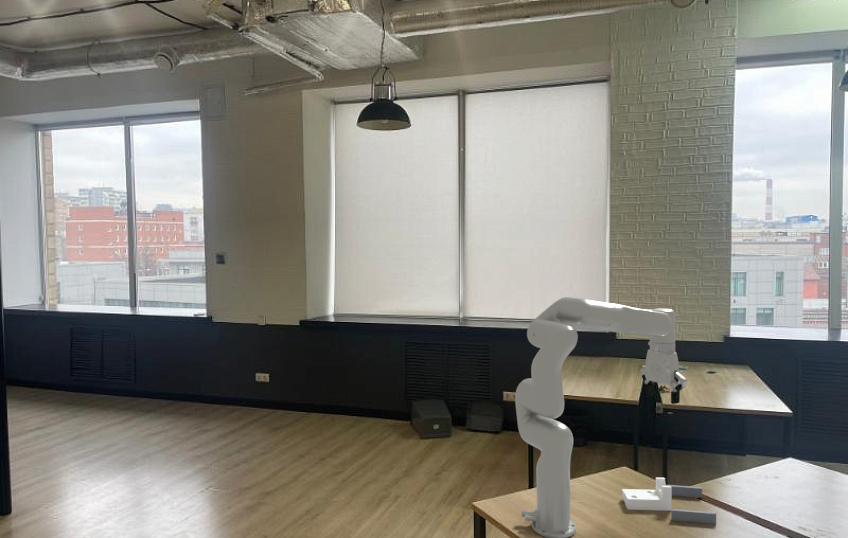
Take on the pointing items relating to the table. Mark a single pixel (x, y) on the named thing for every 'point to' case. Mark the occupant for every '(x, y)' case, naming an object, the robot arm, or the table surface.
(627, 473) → the table surface
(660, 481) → the bracket
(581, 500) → the table surface
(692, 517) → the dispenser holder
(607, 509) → the table surface
